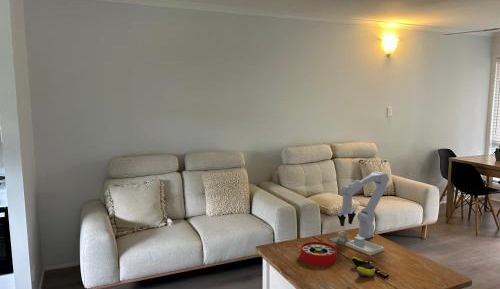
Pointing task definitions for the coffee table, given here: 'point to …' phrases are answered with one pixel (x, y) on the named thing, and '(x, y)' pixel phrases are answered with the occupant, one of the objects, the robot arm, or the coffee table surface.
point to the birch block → (342, 236)
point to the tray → (366, 247)
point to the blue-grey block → (359, 241)
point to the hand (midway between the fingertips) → (346, 224)
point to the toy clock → (318, 253)
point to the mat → (339, 241)
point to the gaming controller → (363, 267)
